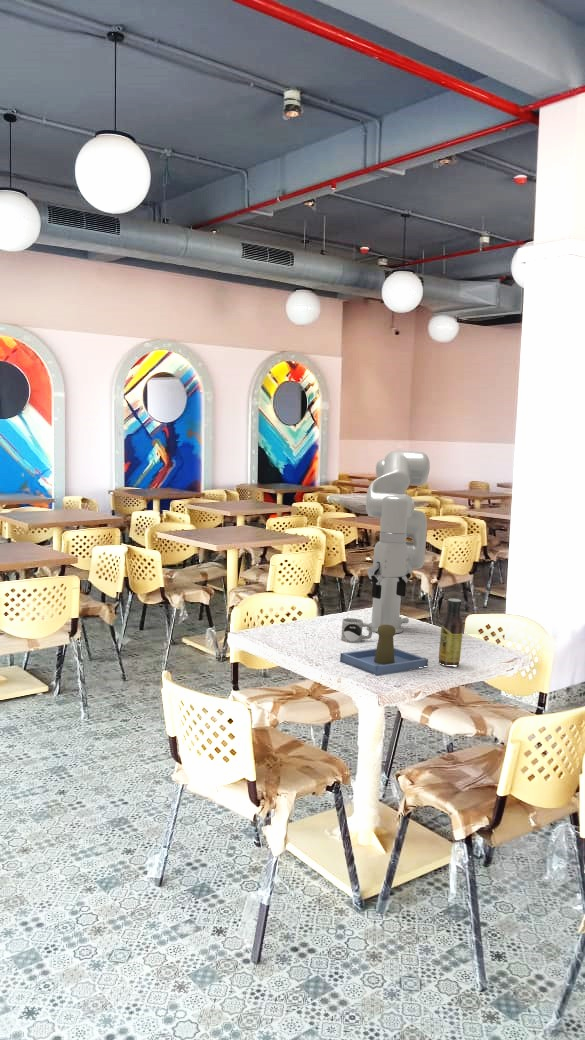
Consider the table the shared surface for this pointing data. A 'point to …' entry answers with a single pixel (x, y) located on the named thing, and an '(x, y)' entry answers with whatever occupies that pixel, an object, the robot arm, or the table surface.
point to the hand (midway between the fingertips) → (388, 596)
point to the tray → (366, 663)
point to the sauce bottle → (451, 634)
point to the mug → (354, 630)
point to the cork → (385, 645)
